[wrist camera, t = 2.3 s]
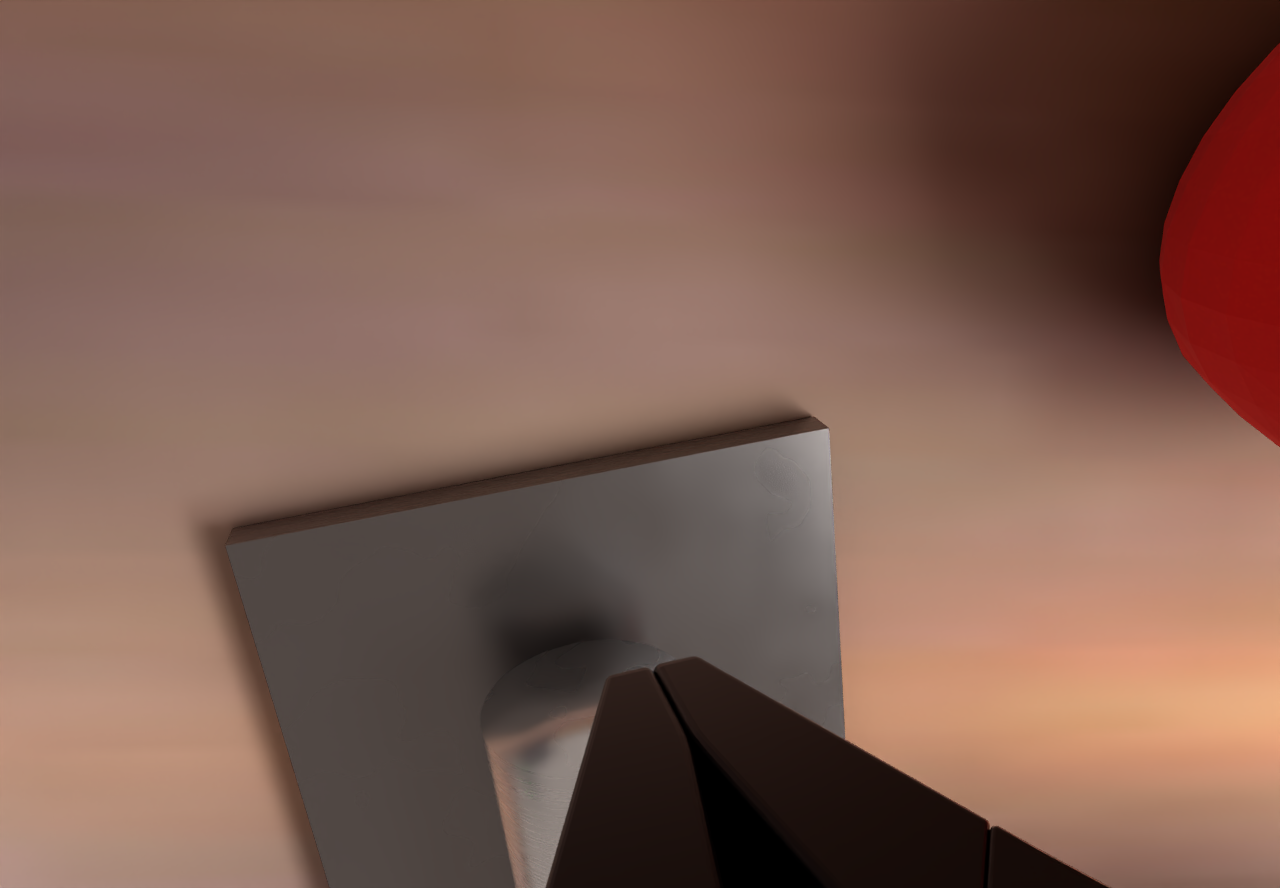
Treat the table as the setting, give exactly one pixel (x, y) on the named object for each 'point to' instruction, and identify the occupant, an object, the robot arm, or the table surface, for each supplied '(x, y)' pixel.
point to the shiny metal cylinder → (547, 741)
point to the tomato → (1231, 253)
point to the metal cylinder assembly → (525, 623)
